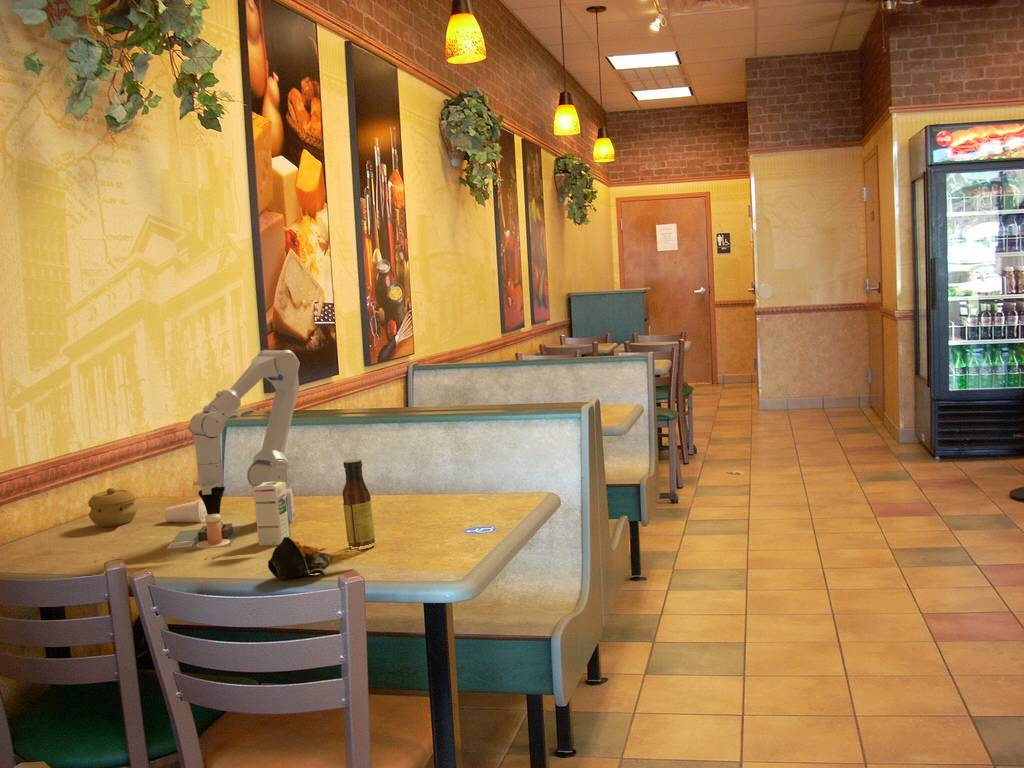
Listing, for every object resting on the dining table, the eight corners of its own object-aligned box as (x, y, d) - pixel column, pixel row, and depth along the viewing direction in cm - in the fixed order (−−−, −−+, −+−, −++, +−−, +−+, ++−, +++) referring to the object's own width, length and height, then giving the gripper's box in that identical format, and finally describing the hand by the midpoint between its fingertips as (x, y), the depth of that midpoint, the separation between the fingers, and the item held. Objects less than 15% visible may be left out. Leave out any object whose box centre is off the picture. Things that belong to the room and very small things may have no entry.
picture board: (242, 528, 265) (242, 525, 265) (230, 549, 245) (230, 545, 244) (180, 534, 263) (180, 530, 263) (163, 555, 243) (163, 551, 243)
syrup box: (282, 548, 243) (277, 485, 241) (257, 548, 244) (252, 486, 242) (291, 541, 248) (286, 480, 247) (268, 542, 250) (262, 481, 248)
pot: (80, 531, 274) (76, 492, 273) (109, 520, 285) (105, 483, 284) (119, 531, 270) (116, 492, 269) (147, 520, 282) (143, 483, 281)
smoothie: (159, 510, 270) (212, 505, 269) (168, 497, 276) (220, 492, 274) (166, 532, 273) (218, 526, 271) (175, 519, 278) (226, 514, 277)
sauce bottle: (380, 544, 241) (374, 457, 239) (368, 551, 235) (361, 462, 233) (354, 543, 244) (348, 457, 241) (341, 550, 238) (334, 462, 236)
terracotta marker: (223, 540, 250) (221, 513, 249) (221, 544, 246) (219, 516, 246) (208, 541, 249) (206, 514, 249) (206, 545, 246) (203, 517, 245)
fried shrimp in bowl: (255, 555, 220) (328, 513, 229) (283, 601, 219) (354, 557, 228) (266, 546, 212) (340, 503, 221) (294, 594, 211) (368, 549, 221)
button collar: (232, 531, 259) (232, 523, 259) (228, 538, 252) (227, 530, 252) (203, 533, 258) (202, 525, 258) (198, 540, 251) (197, 532, 251)
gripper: (197, 458, 260) (202, 513, 262) (186, 469, 246) (191, 526, 247) (226, 456, 261) (231, 510, 262) (217, 466, 247) (222, 524, 248)
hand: (214, 518), depth 255 cm, fingers closed
